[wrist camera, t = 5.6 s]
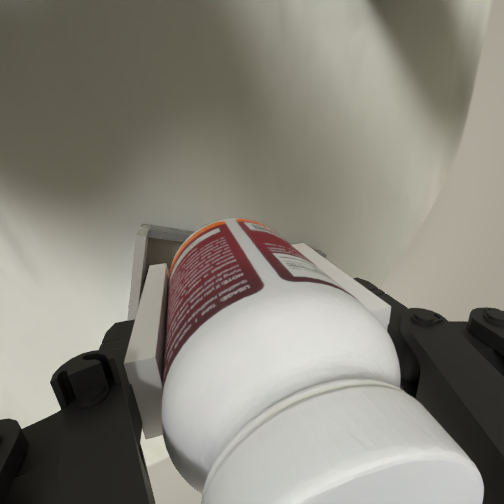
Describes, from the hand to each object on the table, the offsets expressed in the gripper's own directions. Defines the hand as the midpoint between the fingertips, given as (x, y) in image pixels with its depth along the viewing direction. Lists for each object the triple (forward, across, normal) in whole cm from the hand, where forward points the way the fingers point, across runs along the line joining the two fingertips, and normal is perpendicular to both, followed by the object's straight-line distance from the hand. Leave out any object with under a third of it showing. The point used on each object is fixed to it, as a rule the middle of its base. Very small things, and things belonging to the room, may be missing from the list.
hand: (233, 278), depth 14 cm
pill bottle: (+1, 0, 0) cm, 1 cm away
